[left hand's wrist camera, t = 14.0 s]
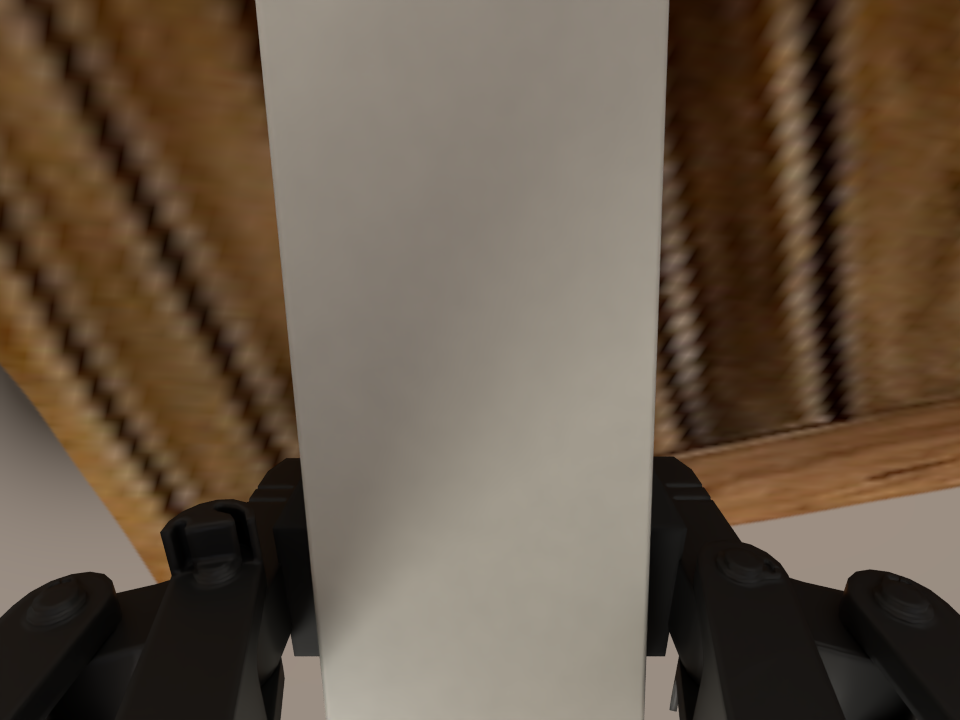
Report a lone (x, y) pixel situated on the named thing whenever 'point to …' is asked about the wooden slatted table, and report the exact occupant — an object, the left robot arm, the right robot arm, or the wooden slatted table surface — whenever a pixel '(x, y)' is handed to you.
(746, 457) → the wooden slatted table surface
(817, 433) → the wooden slatted table surface
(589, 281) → the bar
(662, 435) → the wooden slatted table surface
